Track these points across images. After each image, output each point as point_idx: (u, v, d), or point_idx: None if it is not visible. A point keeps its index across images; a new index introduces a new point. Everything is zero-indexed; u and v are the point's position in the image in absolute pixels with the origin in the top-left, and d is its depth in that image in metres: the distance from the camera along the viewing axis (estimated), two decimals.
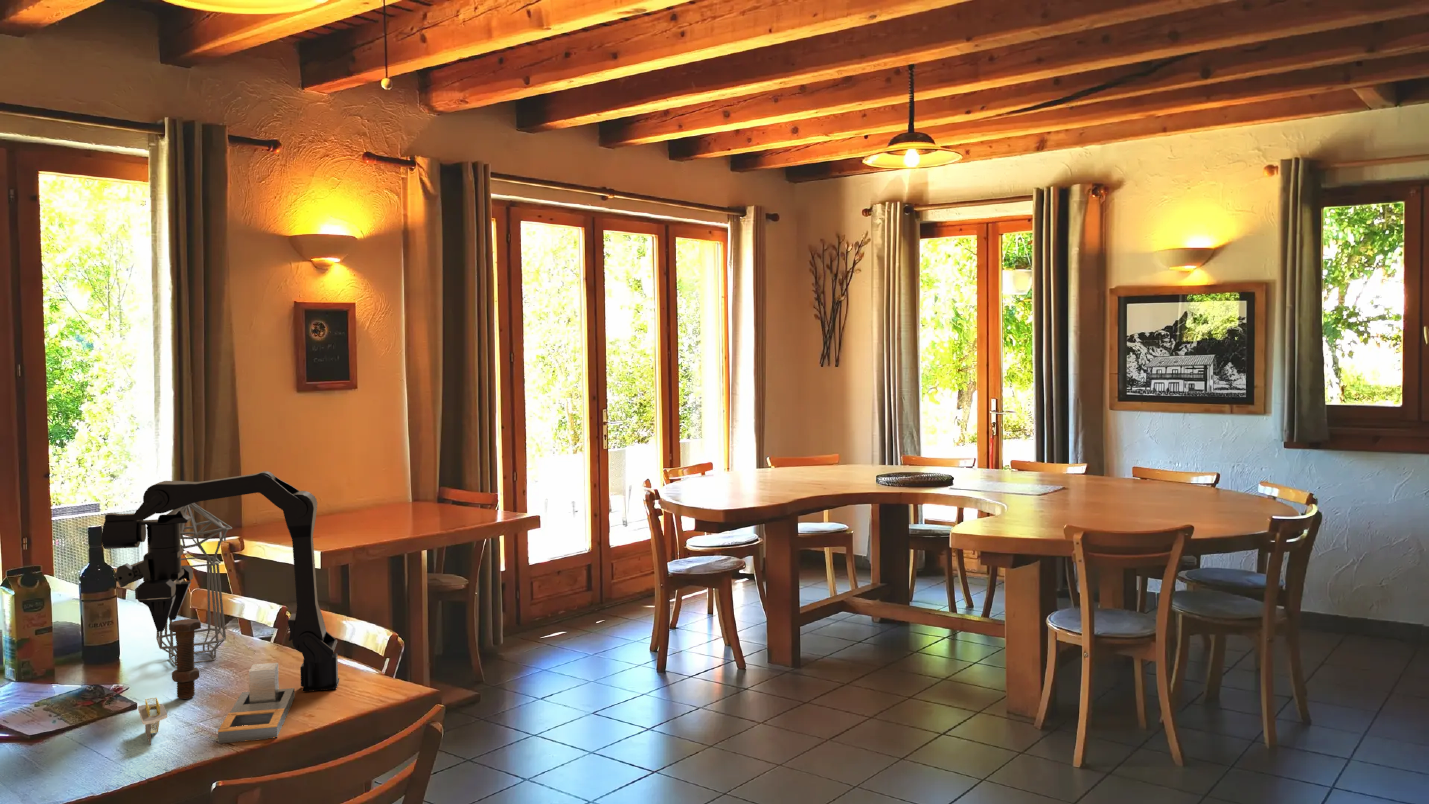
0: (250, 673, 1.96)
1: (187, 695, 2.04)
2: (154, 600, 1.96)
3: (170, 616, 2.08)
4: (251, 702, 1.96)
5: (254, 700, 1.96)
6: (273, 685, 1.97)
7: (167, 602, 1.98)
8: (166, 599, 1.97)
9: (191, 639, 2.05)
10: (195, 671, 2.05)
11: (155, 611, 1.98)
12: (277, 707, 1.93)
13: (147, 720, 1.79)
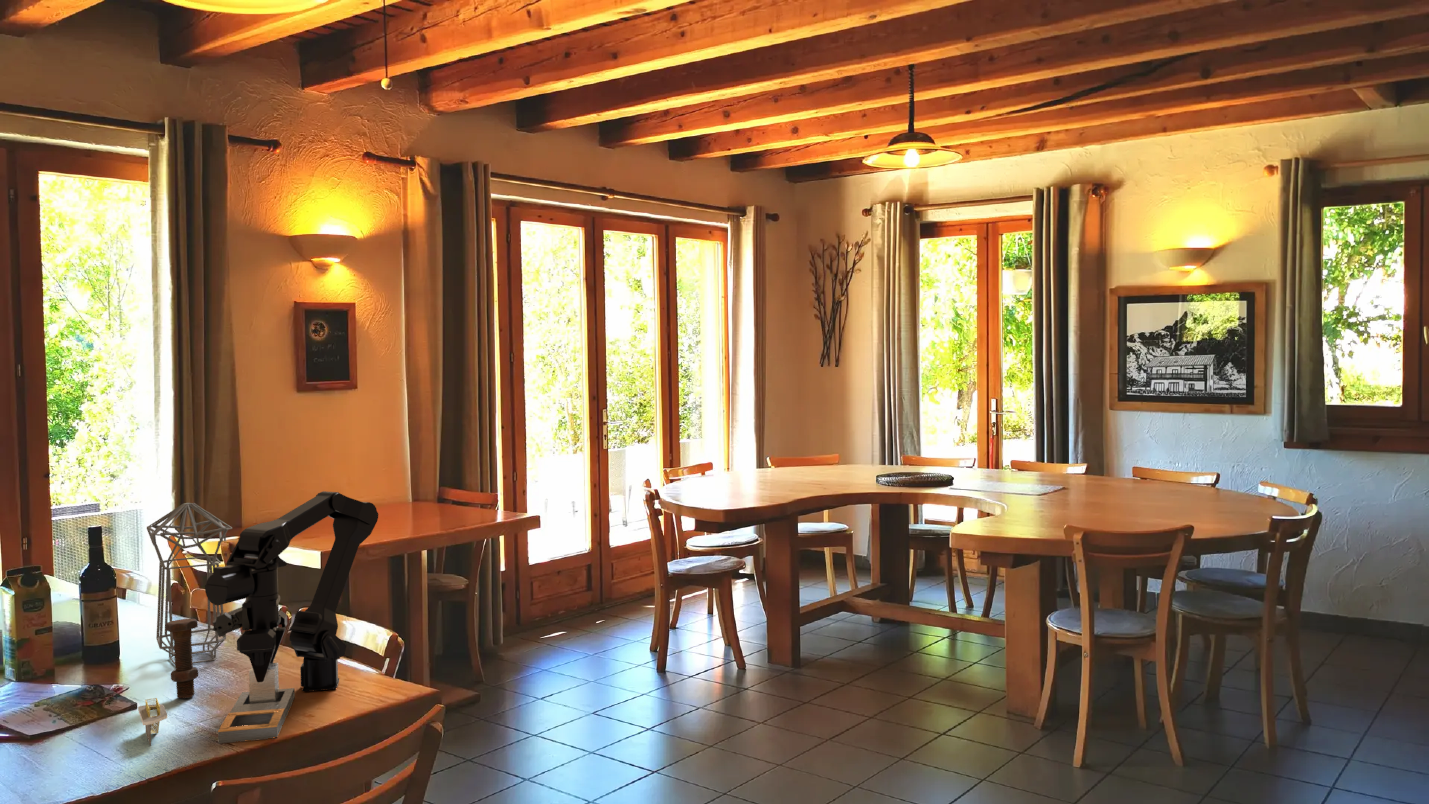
0: (250, 673, 1.96)
1: (187, 694, 2.04)
2: (255, 651, 1.91)
3: None
4: (251, 702, 1.96)
5: (254, 700, 1.96)
6: (273, 685, 1.97)
7: (268, 652, 1.93)
8: (267, 650, 1.91)
9: (188, 638, 2.05)
10: (194, 670, 2.05)
11: (255, 662, 1.93)
12: (277, 707, 1.93)
13: (147, 721, 1.79)
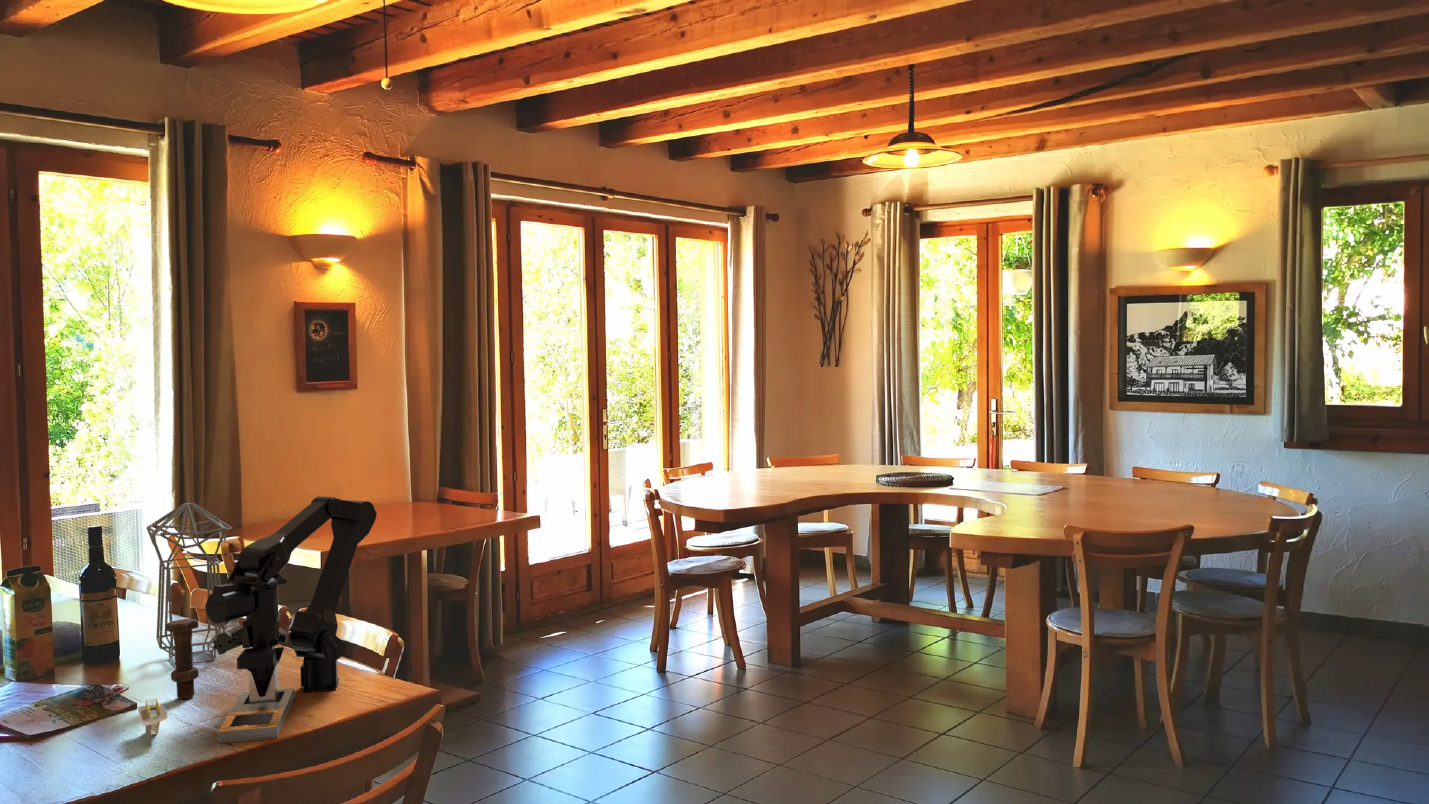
0: (250, 673, 1.96)
1: (187, 694, 2.04)
2: None
3: None
4: (251, 702, 1.96)
5: (253, 700, 1.96)
6: (273, 685, 1.97)
7: (270, 667, 1.95)
8: None
9: (189, 638, 2.05)
10: (195, 670, 2.05)
11: (257, 676, 1.95)
12: (277, 707, 1.93)
13: (147, 721, 1.79)
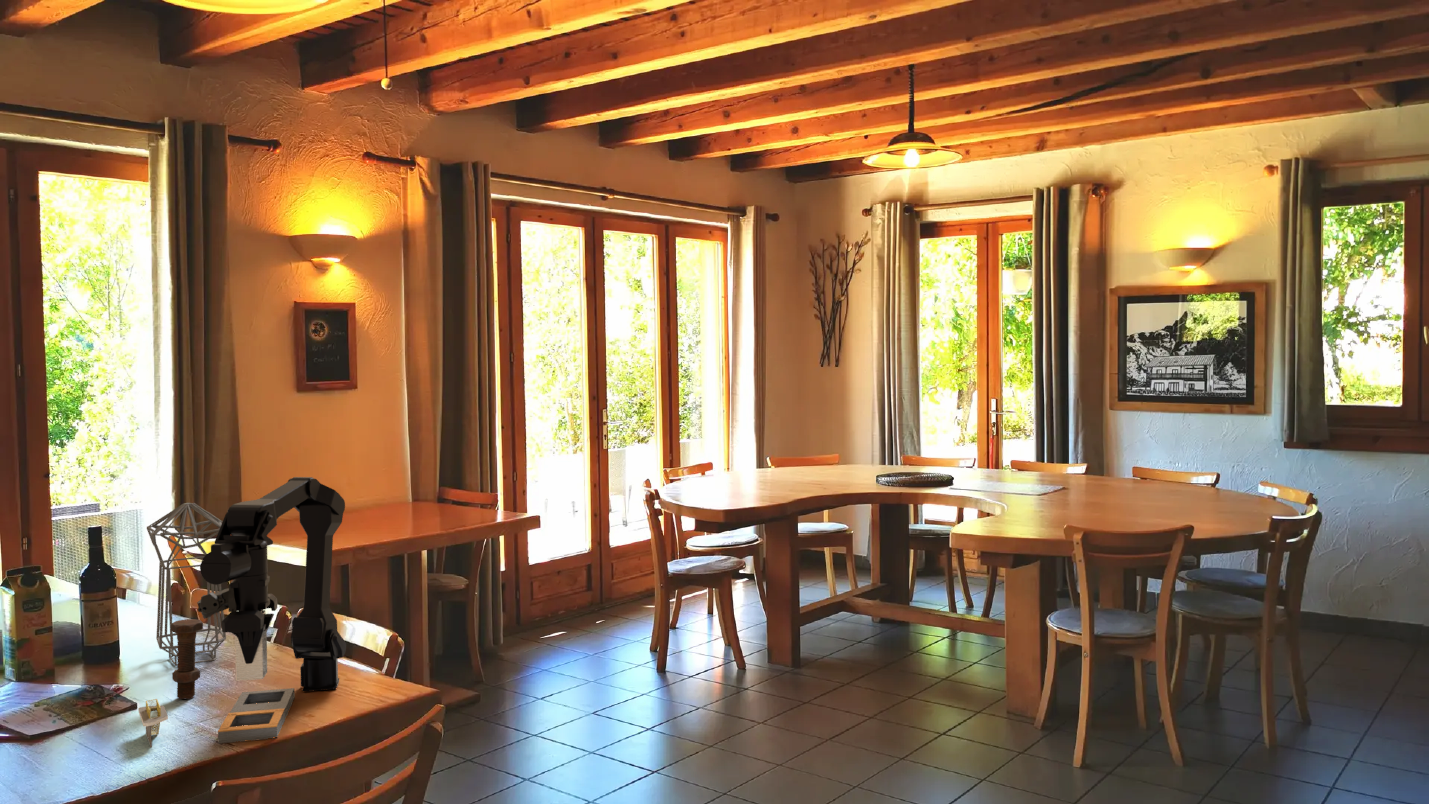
0: (236, 638, 1.85)
1: (188, 695, 2.04)
2: None
3: None
4: (237, 669, 1.85)
5: (240, 667, 1.85)
6: (261, 651, 1.86)
7: (257, 632, 1.84)
8: None
9: (193, 640, 2.05)
10: (197, 672, 2.05)
11: (244, 642, 1.84)
12: (277, 707, 1.93)
13: (148, 722, 1.78)
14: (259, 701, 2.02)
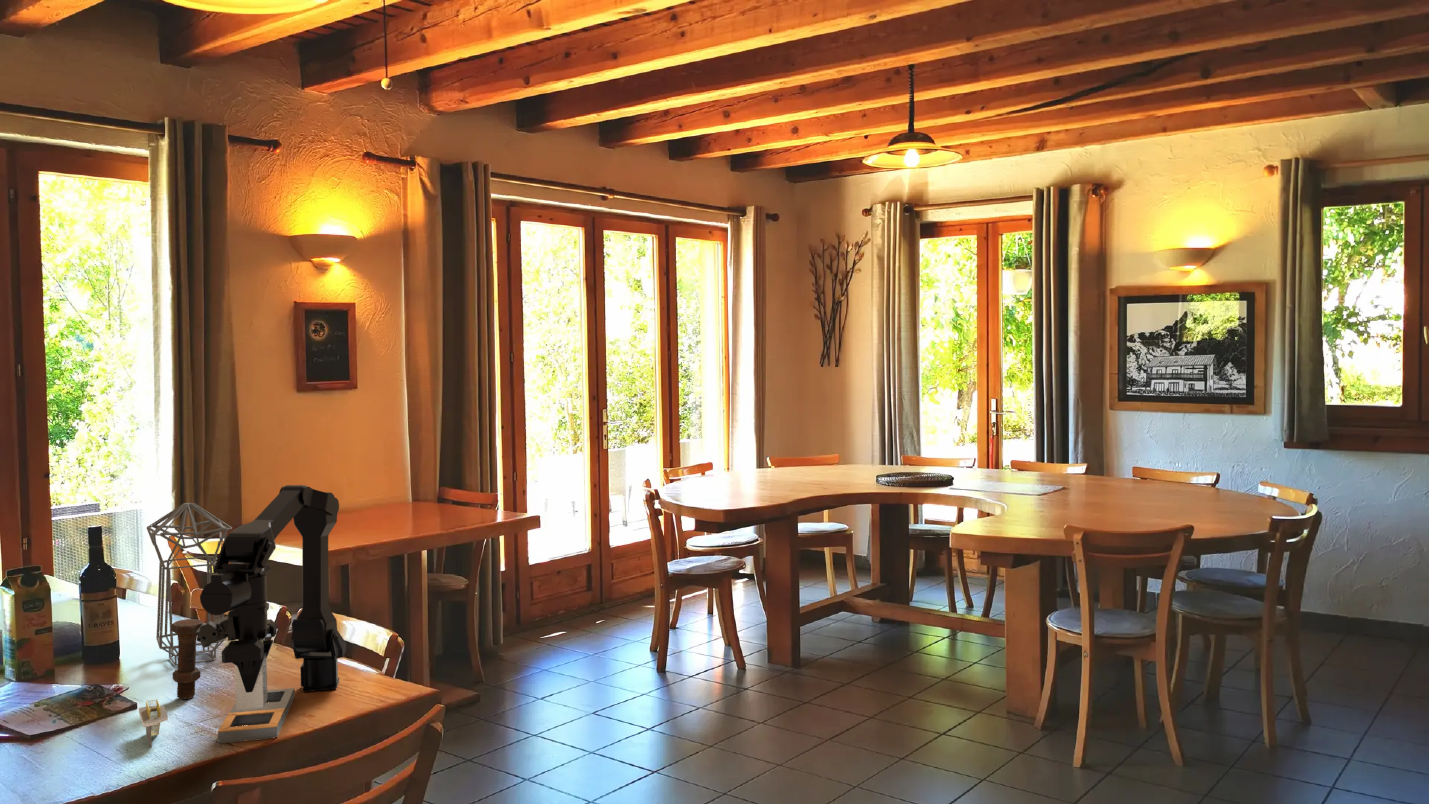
0: (236, 667, 1.83)
1: (188, 695, 2.04)
2: None
3: None
4: (237, 698, 1.84)
5: (240, 696, 1.84)
6: (261, 680, 1.84)
7: (257, 661, 1.82)
8: None
9: (194, 640, 2.04)
10: (197, 672, 2.05)
11: (244, 671, 1.82)
12: (277, 707, 1.93)
13: (148, 722, 1.78)
14: None
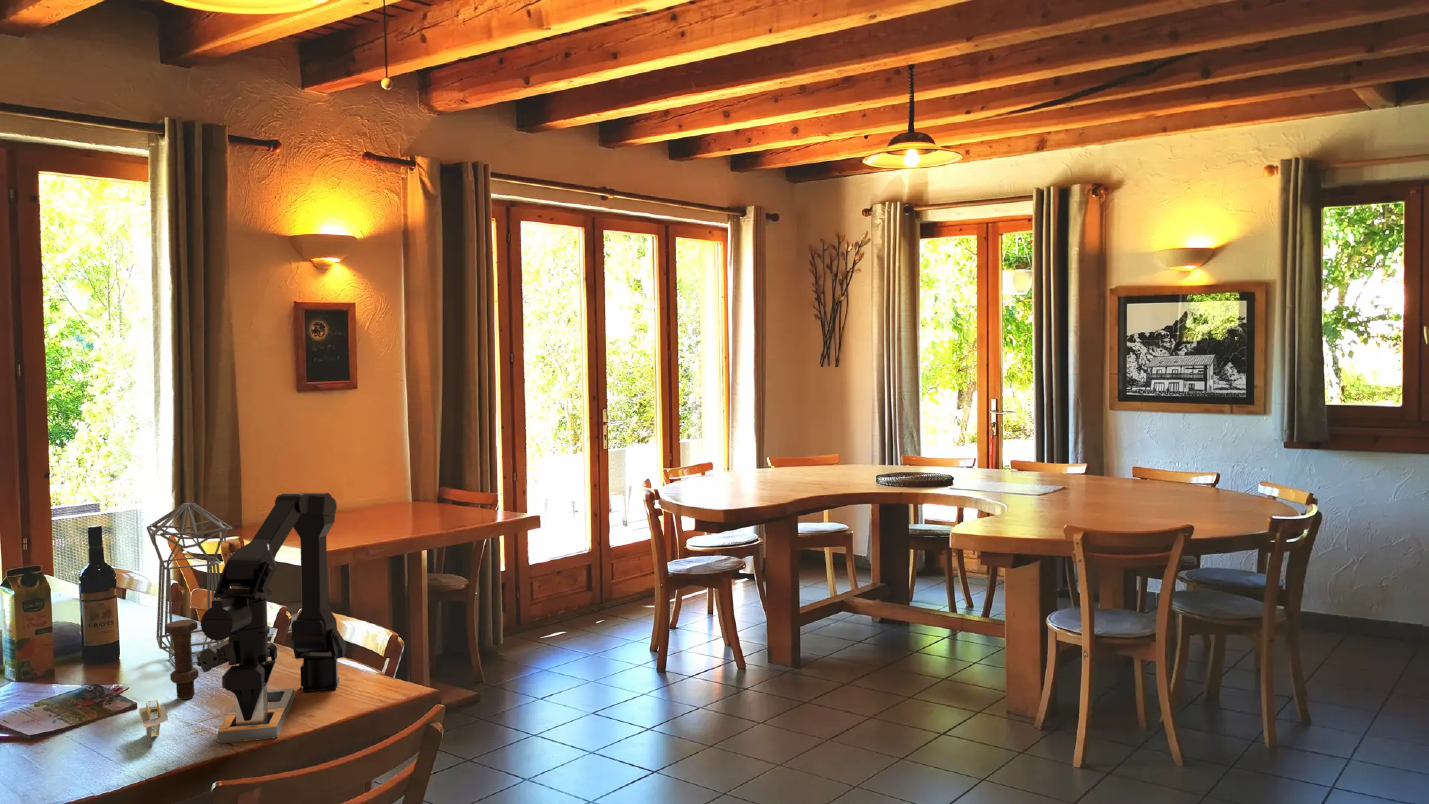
0: None
1: (188, 695, 2.04)
2: (242, 688, 1.78)
3: None
4: (238, 725, 1.84)
5: (240, 724, 1.84)
6: (261, 707, 1.85)
7: (256, 689, 1.80)
8: (255, 687, 1.79)
9: (189, 640, 2.04)
10: (195, 671, 2.05)
11: (242, 699, 1.81)
12: (277, 707, 1.93)
13: (148, 723, 1.78)
14: None
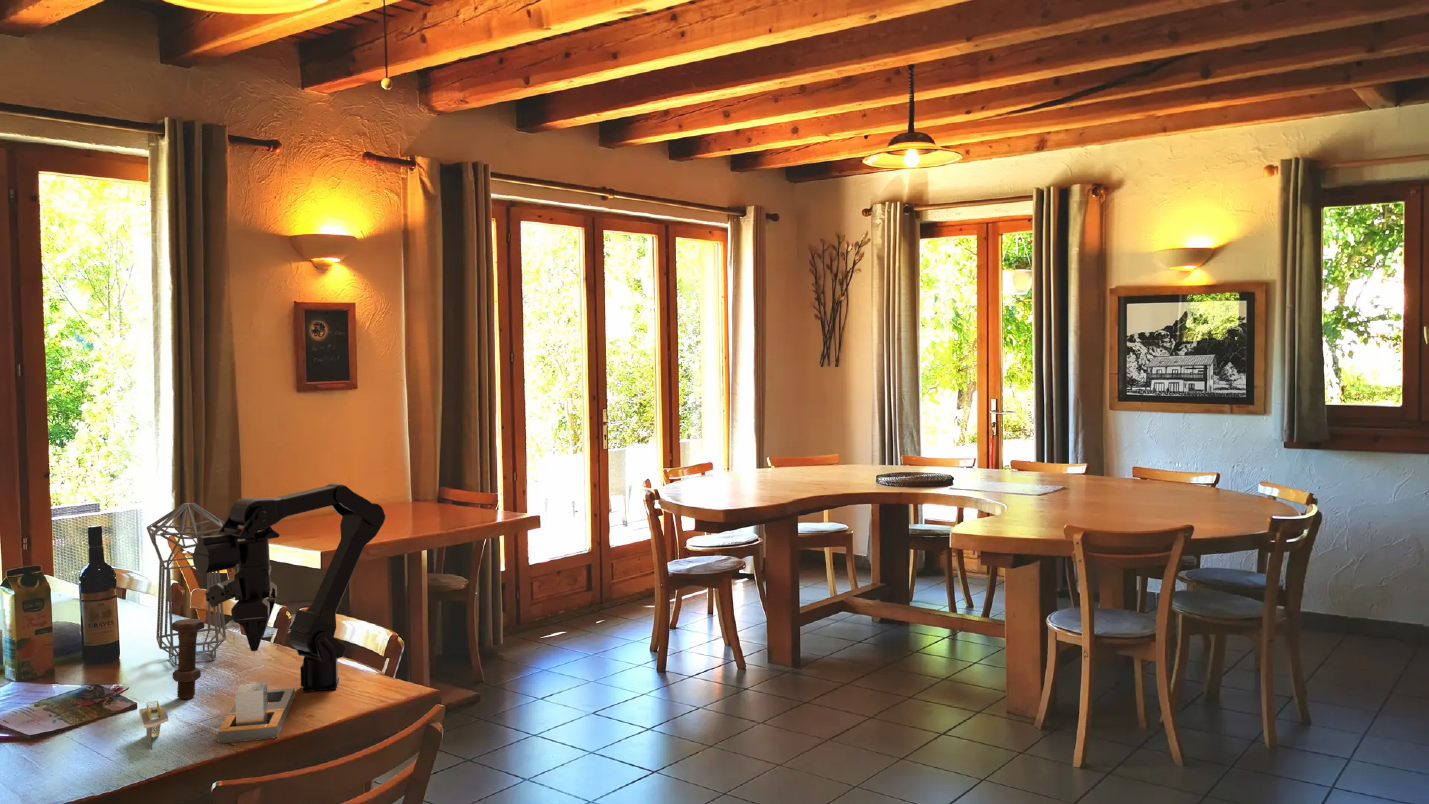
0: (237, 694, 1.83)
1: (189, 695, 2.04)
2: (250, 620, 1.93)
3: None
4: (238, 725, 1.84)
5: (240, 724, 1.84)
6: (261, 707, 1.85)
7: (262, 621, 1.95)
8: (262, 618, 1.93)
9: (194, 639, 2.05)
10: (198, 671, 2.06)
11: (249, 631, 1.95)
12: (277, 707, 1.93)
13: (148, 723, 1.77)
14: None
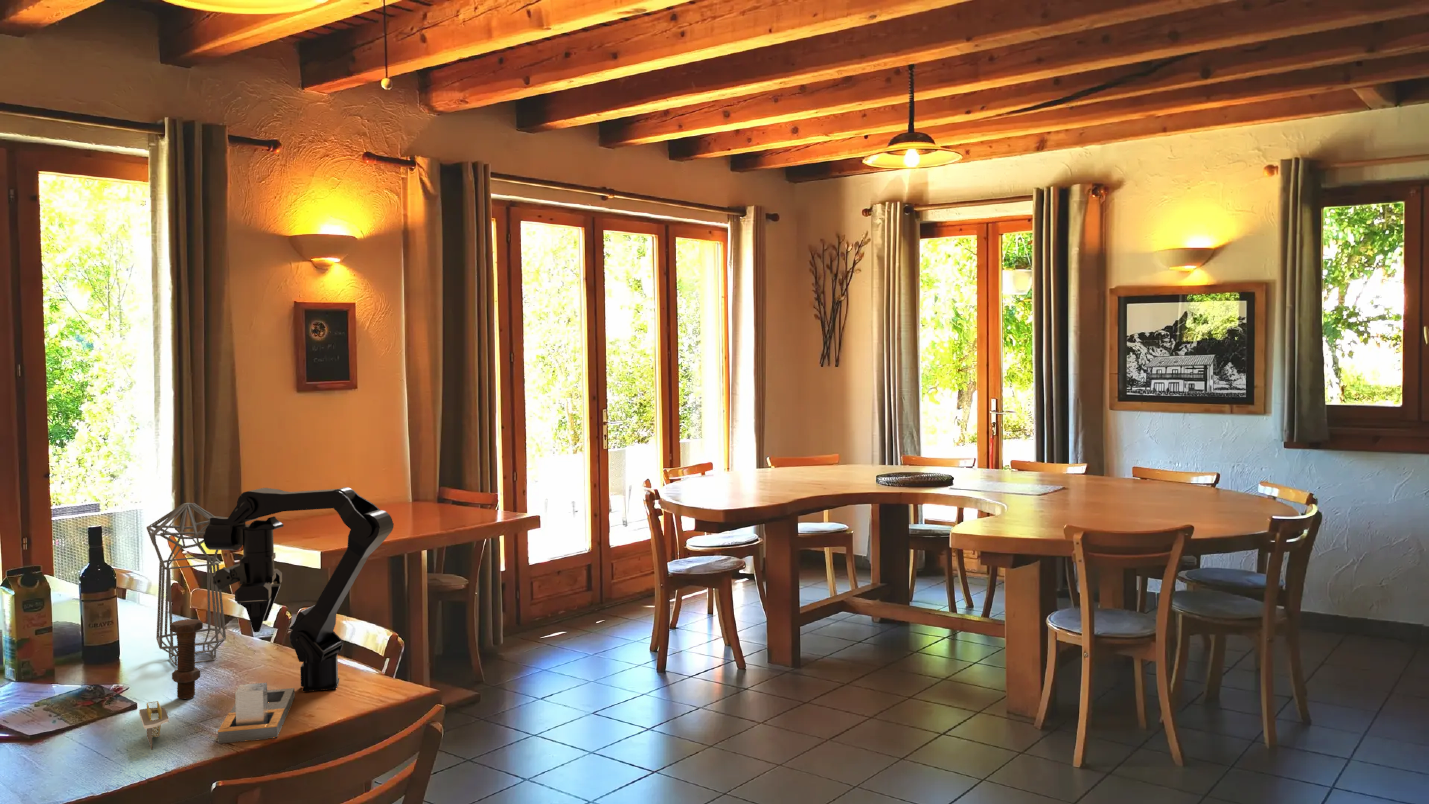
0: (237, 694, 1.84)
1: (189, 695, 2.04)
2: (252, 602, 2.05)
3: None
4: (238, 725, 1.84)
5: (240, 724, 1.84)
6: (261, 707, 1.85)
7: (264, 604, 2.07)
8: (263, 601, 2.06)
9: (193, 639, 2.05)
10: (197, 671, 2.05)
11: (252, 613, 2.07)
12: (277, 707, 1.93)
13: (148, 724, 1.77)
14: None
